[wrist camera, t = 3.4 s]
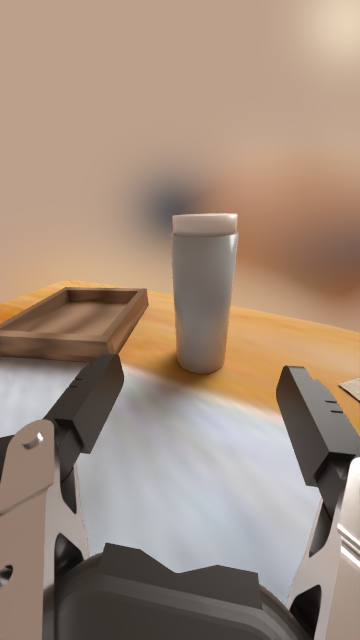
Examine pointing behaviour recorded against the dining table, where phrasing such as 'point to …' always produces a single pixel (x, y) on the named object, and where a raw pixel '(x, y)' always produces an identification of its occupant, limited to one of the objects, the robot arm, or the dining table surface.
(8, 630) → the robot arm
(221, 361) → the salt shaker
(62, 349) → the tray
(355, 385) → the condiment
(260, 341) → the dining table surface
